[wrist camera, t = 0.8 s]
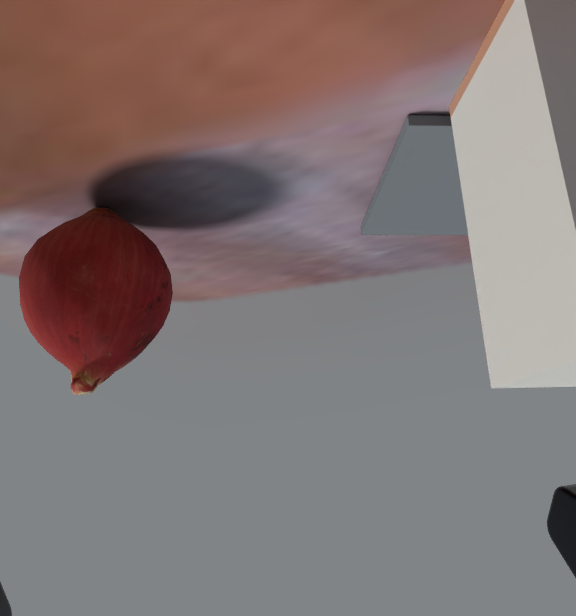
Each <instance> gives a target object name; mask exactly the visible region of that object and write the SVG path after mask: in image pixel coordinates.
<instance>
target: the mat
mask: <svg viewBox="0 0 576 616" xmlns="http://www.w3.org/2000/svg"><path fill="white" fill-rule="evenodd" d="M361 235H468V230H467V223H466V216H465V210H464V203H463V196H462V190H461V183H460V177H459V170H458V163H457V157H456V150H455V143H454V137H453V130H452V123H451V117H450V116H432V115H408V116H407V118H406V121H405V123H404V125H403V128H402V130H401V133H400V135H399V137H398V140H397V142H396V144H395V147H394V149H393V152H392V154H391V156H390V159H389V161H388V163H387V166H386V168H385V171H384V173H383V175H382V178H381V180H380V183H379V185H378V187H377V190H376V192H375V194H374V197H373V199H372V202H371V204H370V206H369V209H368V211H367V213H366V216H365V218H364V221H363V223H362V225H361Z"/></svg>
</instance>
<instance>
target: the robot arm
mask: <svg viewBox="0 0 576 616" xmlns="http://www.w3.org/2000/svg"><path fill="white" fill-rule="evenodd" d="M547 527H548V532H549V534H550V537H551V539H552V541H553V542H554V544H555V545H556V547H557V549H558V550H559V552H560V553H561V555H562V557H563V558H564V560H565V561H566V563H567V565H568V566H569V568H570V570H571V571H572V573H573V574H574V576H575V578H576V484H574V485H567V486H561V487H558V488H557V489H556V490H555V492H554V495H553V499H552V503H551V507H550V511H549V515H548V519H547ZM0 616H12V612H11V607H10V604H9V602H8V600H7V597H6V595H5V592H4V590H3V587H2V585H1V582H0Z"/></svg>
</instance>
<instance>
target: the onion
mask: <svg viewBox="0 0 576 616" xmlns="http://www.w3.org/2000/svg"><path fill="white" fill-rule="evenodd" d="M19 288H20V305H21V308H22V313H23V316H24V320H25V322H26V324H27V326H28V328H29V330H30V332H31V333H32V335H33V336H34V337H35V339H36V340H37V341H38V343H40V345H41V346H42V347H43V348H44V349H45V350H46V351H47V352H48V353H49V354H51V355H52V356H53V357H54V358H55V359H57V360H58V361H60V362H61V363H62V364H64V365H65V366H66V367H67V368H68V369H69V370H70V371H71V379H72V383H71V389H72V391H73V393H74V394H80V395H84V394H88V393H92V392H93V391H94V390H95V388H96V387H97V386H98V385H99V384H101V383H102V382H103V381H105V380H106V379H107V378H109V377H110V376H111V375H112V374H113V373H114V372H115V371H117V370H119V369H120V368H122V367H124V366H125V365H127V364H128V363H129V362H131V361H132V360H133V359H135V358H136V357H137V356H138V355H139V354H140V353H141V352H142V351H143V350H144V349H145V348H146V347H147V345H148V344H149V343H150V342H151V341H152V340H153V339H154V338H155V336H156V335H157V333H158V332H159V331H160V329H161V328H162V326H163V325H164V322H165V320H166V318H167V315H168V313H169V311H170V304H171V299H172V294H173V292H172V283H171V274H170V272H169V269H168V267H167V265H166V263H165V261H164V259H163V257H162V255H161V253H160V252H159V250H158V248H157V246H156V245H155V244H154V243H153V242H152V241H151V240H150V239H149V238H148V237H147V236H146V235H145V234H144V233H143V232H141V231H140V230H139V229H137V228H136V227H134V226H133V225H132V224H130V223H128V222H127V221H125V220H124V219H122V218H121V217H120V216H119V215H118V214H116V213H115V212H114V211H112V210H110V209H108V208H99V207H98V208H93V209H92V210H90V211H88V212H87V213H85V214H84V215H82V216H80V217H78V218H75V219H73V220H70V221H67V222H65V223H63V224H61V225H60V226H58V227H56V228H54V229H53V230H51V231H50V232H48V233H47V234H45V235H44V236H42V237H41V238H39V239H38V240H37V241H36V243H35V244H34V245H33V246H32V248H31V249H30V250H29V252H28V253H27V254H26V256H25V258H24V261H23V265H22V269H21V273H20V276H19Z"/></svg>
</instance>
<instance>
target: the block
mask: <svg viewBox="0 0 576 616" xmlns="http://www.w3.org/2000/svg"><path fill="white" fill-rule="evenodd" d="M449 110H450V117H451V123H452V130H453V137H454V143H455V150H456V157H457V163H458V170H459V177H460V183H461V190H462V196H463V203H464V210H465V216H466V223H467V230H468V236H469V243H470V250H471V256H472V263H473V269H474V276H475V283H476V289H477V296H478V302H479V309H480V316H481V322H482V329H483V336H484V342H485V349H486V356H487V363H488V369H489V376H490V382H491V388H522V387H571V386H572V387H574V386H576V0H505V2H504V4H503V5H502V7H501V9H500V11H499V13H498V15H497V17H496V19H495V21H494V23H493V25H492V26H491V28H490V30H489V32H488V34H487V36H486V38H485V40H484V42H483V44H482V45H481V47H480V49H479V51H478V53H477V55H476V57H475V59H474V61H473V63H472V64H471V66H470V68H469V70H468V72H467V74H466V76H465V78H464V80H463V82H462V83H461V85H460V87H459V89H458V91H457V93H456V95H455V97H454V99H453V101H452V103H451V104H450V106H449Z"/></svg>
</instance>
